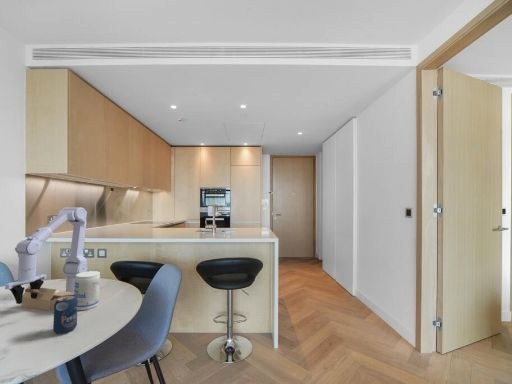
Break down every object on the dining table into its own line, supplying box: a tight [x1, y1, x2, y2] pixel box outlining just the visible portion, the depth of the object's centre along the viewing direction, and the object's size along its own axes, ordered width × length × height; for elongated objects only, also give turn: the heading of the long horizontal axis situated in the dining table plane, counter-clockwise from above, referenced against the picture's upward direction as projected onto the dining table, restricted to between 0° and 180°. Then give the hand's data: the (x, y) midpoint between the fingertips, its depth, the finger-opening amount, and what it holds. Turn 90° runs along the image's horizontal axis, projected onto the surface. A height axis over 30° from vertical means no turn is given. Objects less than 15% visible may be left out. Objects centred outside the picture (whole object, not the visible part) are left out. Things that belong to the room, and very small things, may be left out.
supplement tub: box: [74, 270, 101, 311], centre depth 115 cm, size 10×10×15 cm
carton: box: [21, 289, 72, 311], centre depth 117 cm, size 10×16×4 cm, turn 76°
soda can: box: [52, 295, 78, 336], centre depth 93 cm, size 7×7×12 cm
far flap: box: [22, 285, 57, 301], centre depth 111 cm, size 5×16×5 cm
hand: (26, 300), depth 108 cm, fingers open, 5 cm apart
